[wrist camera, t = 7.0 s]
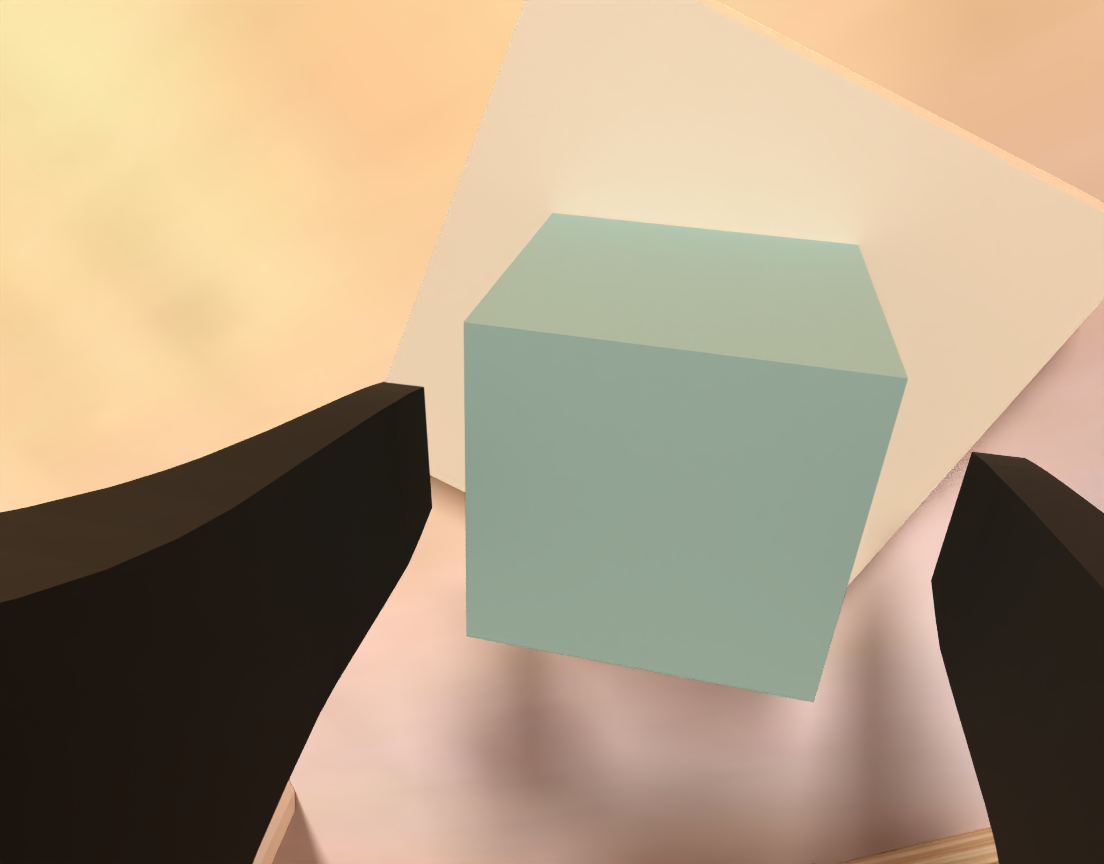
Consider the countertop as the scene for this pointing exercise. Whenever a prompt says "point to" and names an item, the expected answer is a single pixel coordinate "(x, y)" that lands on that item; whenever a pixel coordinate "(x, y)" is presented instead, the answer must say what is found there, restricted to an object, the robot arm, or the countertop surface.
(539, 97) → the cream block
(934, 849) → the hardcover book
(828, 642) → the teal block
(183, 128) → the countertop surface
